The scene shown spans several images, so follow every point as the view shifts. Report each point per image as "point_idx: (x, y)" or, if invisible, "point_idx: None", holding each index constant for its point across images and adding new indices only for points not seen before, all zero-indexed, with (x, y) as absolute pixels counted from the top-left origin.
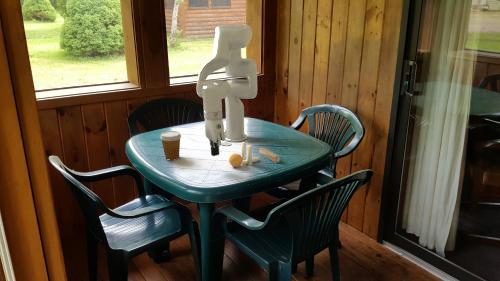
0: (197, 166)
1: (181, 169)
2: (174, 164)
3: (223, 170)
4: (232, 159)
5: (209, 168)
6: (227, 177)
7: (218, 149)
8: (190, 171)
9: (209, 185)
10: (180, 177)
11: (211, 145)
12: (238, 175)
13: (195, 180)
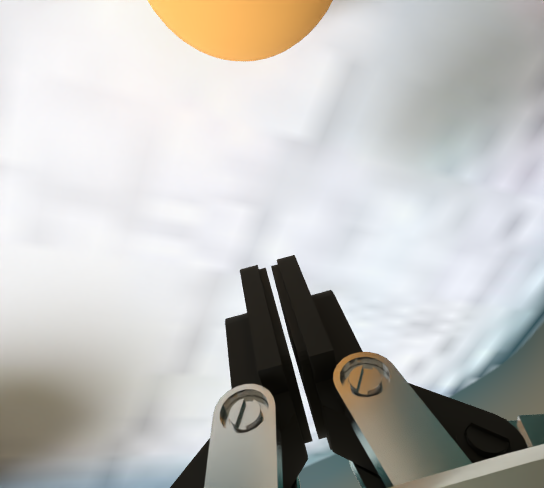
0: (128, 337)
1: (164, 430)
2: (51, 465)
3: (297, 143)
4: (310, 27)
5: (203, 256)
6: (466, 146)
7: (318, 316)
8: (221, 385)
9: (512, 299)
10: None
11: (297, 473)
12: (486, 22)
13: None
